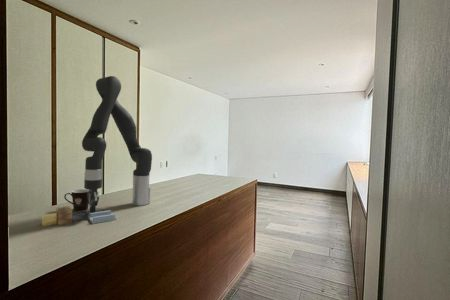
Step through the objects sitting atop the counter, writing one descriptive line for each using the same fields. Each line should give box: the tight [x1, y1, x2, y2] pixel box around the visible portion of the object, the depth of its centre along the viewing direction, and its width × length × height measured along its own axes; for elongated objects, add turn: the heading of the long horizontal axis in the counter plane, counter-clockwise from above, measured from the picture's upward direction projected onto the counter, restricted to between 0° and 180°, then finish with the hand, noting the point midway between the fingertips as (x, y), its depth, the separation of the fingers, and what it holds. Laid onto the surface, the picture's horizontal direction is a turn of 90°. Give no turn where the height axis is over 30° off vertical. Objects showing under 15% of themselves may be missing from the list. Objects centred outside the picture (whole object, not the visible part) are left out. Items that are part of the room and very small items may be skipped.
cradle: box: [87, 209, 117, 225], centre depth 114 cm, size 10×8×3 cm
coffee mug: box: [63, 188, 89, 212], centre depth 127 cm, size 12×9×10 cm
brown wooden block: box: [55, 205, 73, 226], centre depth 109 cm, size 5×8×6 cm, turn 41°
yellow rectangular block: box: [41, 212, 58, 227], centre depth 107 cm, size 8×4×4 cm, turn 137°
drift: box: [72, 210, 89, 222], centre depth 112 cm, size 9×3×3 cm, turn 144°
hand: (92, 213), depth 116 cm, fingers closed
